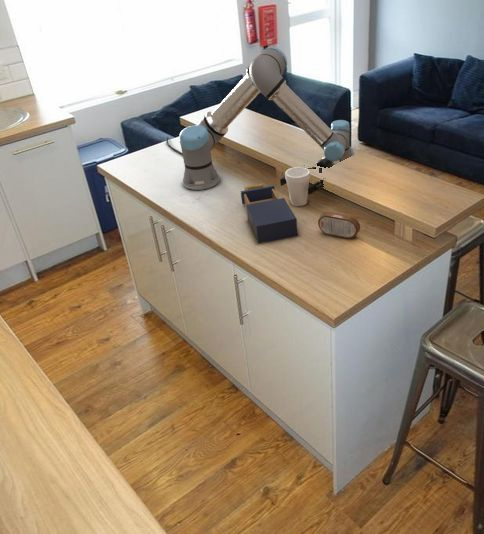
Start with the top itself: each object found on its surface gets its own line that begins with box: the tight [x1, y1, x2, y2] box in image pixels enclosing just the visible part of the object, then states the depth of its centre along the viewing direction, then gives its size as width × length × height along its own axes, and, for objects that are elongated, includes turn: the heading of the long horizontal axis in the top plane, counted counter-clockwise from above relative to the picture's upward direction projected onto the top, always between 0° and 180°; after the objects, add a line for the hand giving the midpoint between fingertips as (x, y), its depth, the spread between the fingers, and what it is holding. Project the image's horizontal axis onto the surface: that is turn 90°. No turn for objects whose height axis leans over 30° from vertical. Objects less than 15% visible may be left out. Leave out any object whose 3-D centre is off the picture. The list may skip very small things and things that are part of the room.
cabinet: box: [245, 197, 299, 244], centre depth 205 cm, size 17×15×7 cm
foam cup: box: [284, 166, 311, 207], centre depth 218 cm, size 10×9×13 cm
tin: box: [317, 211, 361, 239], centre depth 197 cm, size 15×3×8 cm, turn 65°
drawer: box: [240, 183, 280, 207], centre depth 218 cm, size 22×13×5 cm, turn 16°
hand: (294, 186), depth 216 cm, fingers open, 13 cm apart
